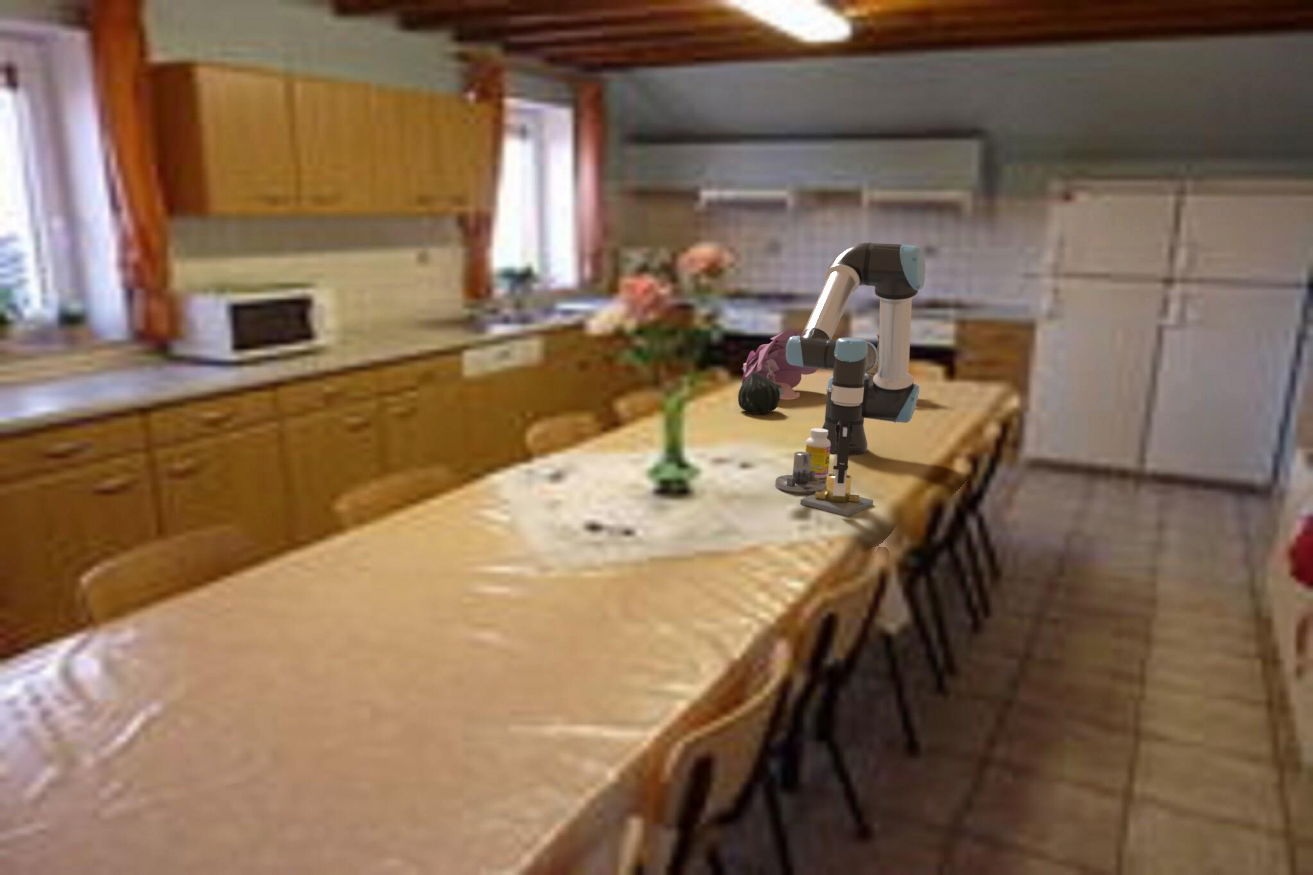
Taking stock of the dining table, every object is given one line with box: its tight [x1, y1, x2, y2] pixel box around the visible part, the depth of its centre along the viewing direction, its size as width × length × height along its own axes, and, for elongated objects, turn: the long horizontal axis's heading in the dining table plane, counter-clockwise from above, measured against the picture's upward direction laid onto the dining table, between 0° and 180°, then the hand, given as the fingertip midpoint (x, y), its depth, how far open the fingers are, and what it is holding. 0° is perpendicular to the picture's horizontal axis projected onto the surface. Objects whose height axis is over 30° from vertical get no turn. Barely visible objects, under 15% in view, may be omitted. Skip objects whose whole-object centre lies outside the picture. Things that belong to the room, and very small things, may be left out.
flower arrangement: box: [741, 328, 819, 401], centre depth 367 cm, size 35×24×28 cm
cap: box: [815, 472, 861, 503], centre depth 232 cm, size 11×6×6 cm, turn 81°
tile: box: [800, 490, 874, 517], centre depth 233 cm, size 13×13×1 cm
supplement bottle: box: [804, 427, 831, 479], centre depth 256 cm, size 7×7×13 cm
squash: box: [737, 372, 781, 415], centre depth 335 cm, size 14×15×15 cm
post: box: [774, 451, 826, 496], centre depth 245 cm, size 13×13×9 cm
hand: (838, 487), depth 232 cm, fingers open, 13 cm apart
